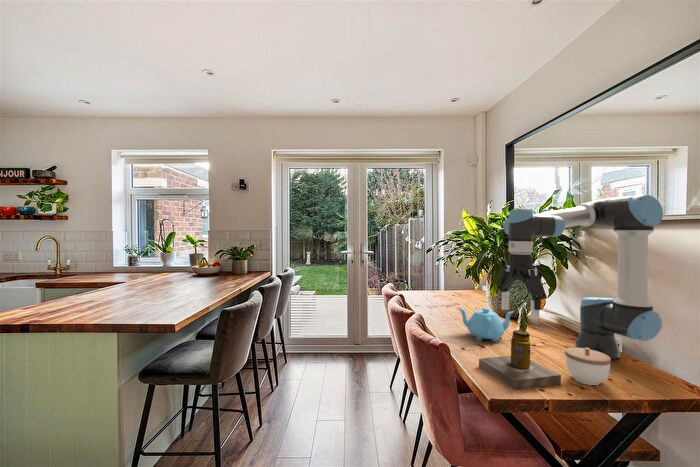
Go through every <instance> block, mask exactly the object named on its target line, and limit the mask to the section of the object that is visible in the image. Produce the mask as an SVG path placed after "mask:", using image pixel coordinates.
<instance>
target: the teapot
mask: <svg viewBox="0 0 700 467" xmlns="http://www.w3.org/2000/svg"><path fill="white" fill-rule="evenodd" d="M457 309H458V310H459V311H460V312H461V316H462V322H463V324H464V326H465V327H467V329H468V331H469V333H470V334H471V335H473V336H474V337H475V341H483V339H486V340H487V339H489V340H491V342H492V341H493V343H498V342H499V340H498V339H501V337H502V336H503V335H504V334H505V331H506V330H508V329H509V326H510V318H511V315H512V314H513V313H514V312H515V311H513V310H511V311H508V312H507V313H506V314H505V320H504V321H502V320H501V318H500V316H499V315H498V313H497V312H494V311H491V310H490V308H488V307H483V308H482V309H481V310H475V311H474V313H473V314H472V315H471V317H470V318H469V319H468V318H467V313H466V310H464V309H463V308H459V307H457Z"/></svg>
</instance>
